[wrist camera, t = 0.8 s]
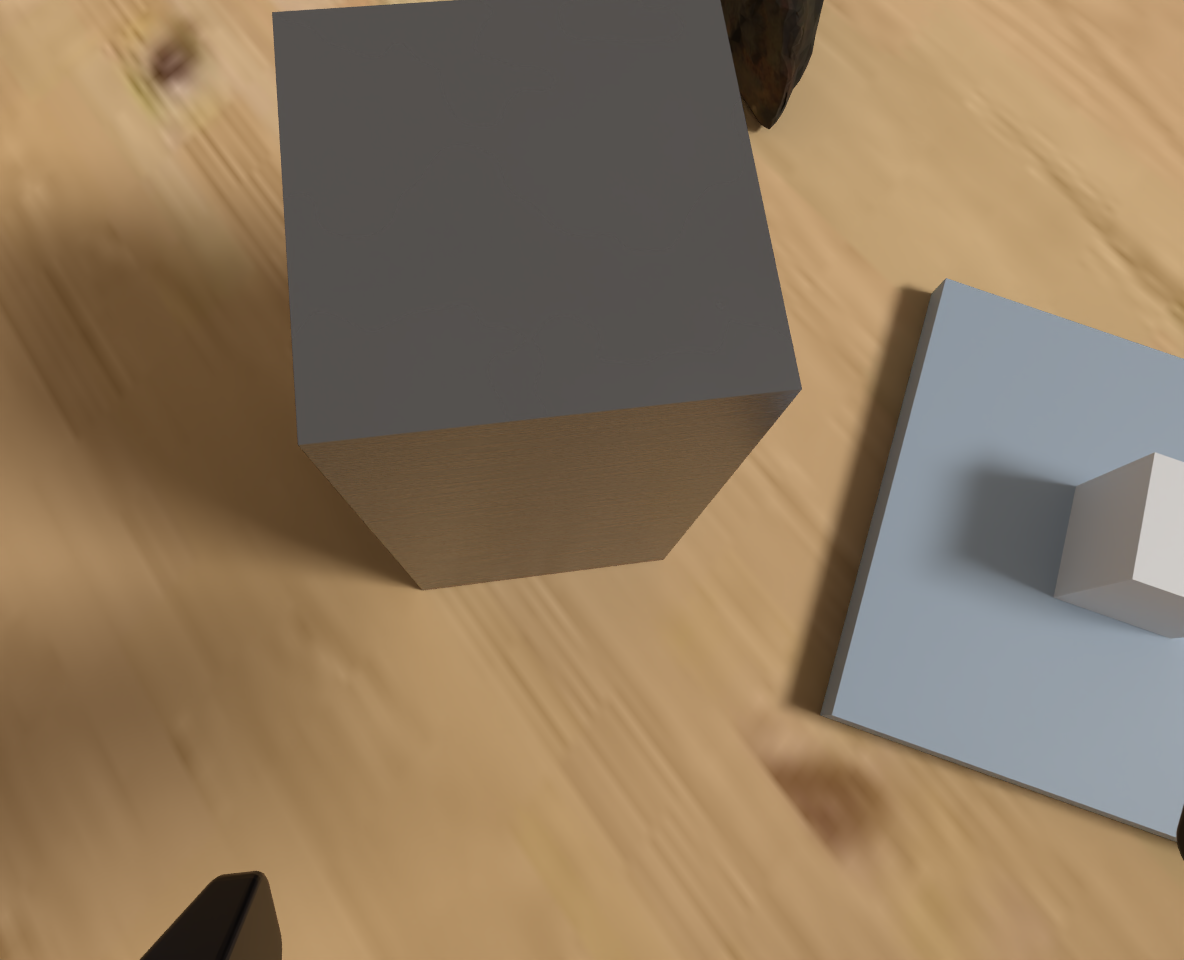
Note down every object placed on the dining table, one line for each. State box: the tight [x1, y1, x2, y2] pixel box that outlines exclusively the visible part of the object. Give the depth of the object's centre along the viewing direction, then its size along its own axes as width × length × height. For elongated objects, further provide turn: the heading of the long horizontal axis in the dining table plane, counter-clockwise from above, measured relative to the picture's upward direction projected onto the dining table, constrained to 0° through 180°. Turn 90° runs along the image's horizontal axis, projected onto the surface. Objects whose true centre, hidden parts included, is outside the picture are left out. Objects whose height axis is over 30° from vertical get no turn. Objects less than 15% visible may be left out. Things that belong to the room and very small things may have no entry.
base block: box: [820, 278, 1184, 842], centre depth 22 cm, size 12×12×4 cm
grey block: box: [272, 0, 802, 590], centre depth 17 cm, size 6×6×12 cm
